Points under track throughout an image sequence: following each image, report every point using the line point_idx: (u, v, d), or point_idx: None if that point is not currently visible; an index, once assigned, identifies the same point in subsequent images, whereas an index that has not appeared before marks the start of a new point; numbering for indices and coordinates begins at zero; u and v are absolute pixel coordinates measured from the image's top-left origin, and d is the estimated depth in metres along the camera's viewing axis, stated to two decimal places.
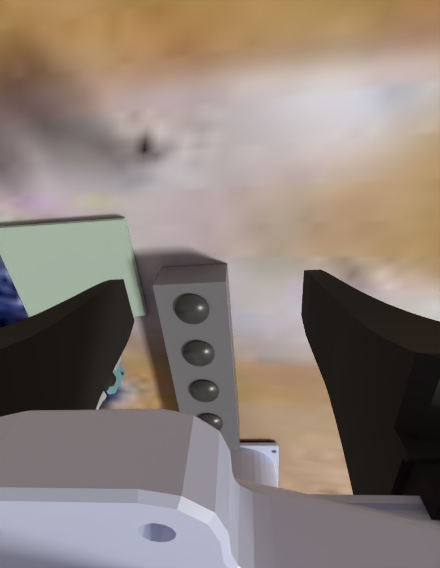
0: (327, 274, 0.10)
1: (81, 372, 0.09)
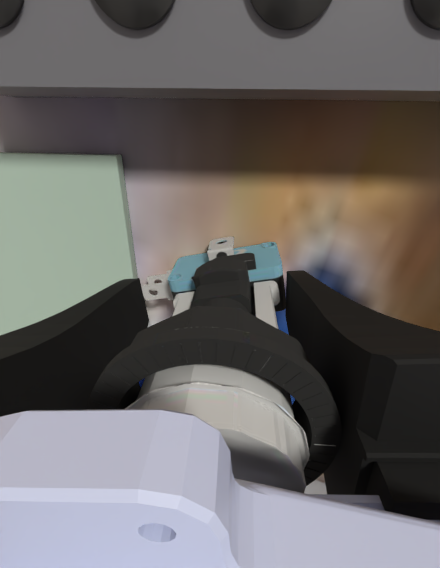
0: (308, 275, 0.10)
1: None
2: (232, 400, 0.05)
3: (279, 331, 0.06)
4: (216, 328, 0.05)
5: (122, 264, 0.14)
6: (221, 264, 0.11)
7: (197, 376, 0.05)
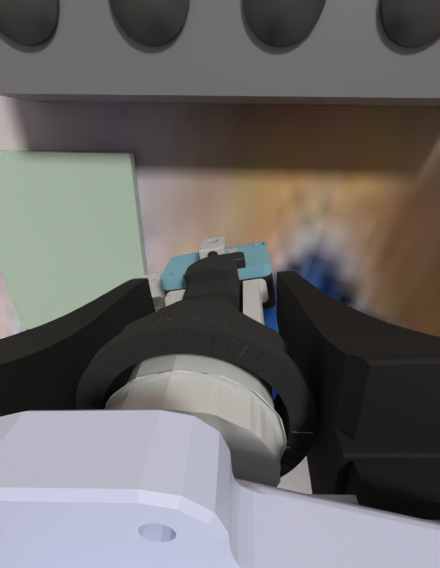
0: (297, 276, 0.10)
1: None
2: (210, 387, 0.05)
3: (260, 324, 0.07)
4: (196, 319, 0.06)
5: (133, 252, 0.15)
6: (211, 262, 0.11)
7: (179, 365, 0.06)
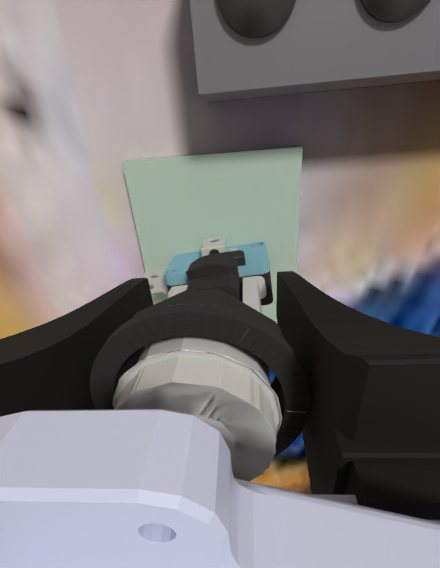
0: (297, 276, 0.10)
1: None
2: (215, 365, 0.06)
3: (259, 313, 0.07)
4: (203, 305, 0.06)
5: (289, 251, 0.15)
6: (213, 259, 0.12)
7: (186, 346, 0.06)
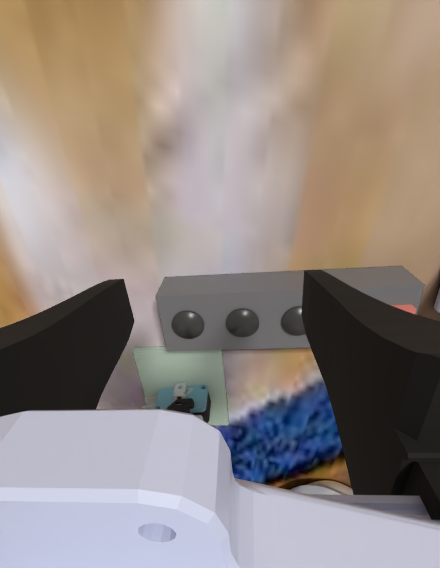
0: (327, 274, 0.10)
1: (81, 372, 0.09)
2: None
3: None
4: None
5: (220, 388, 0.28)
6: (177, 410, 0.25)
7: None
